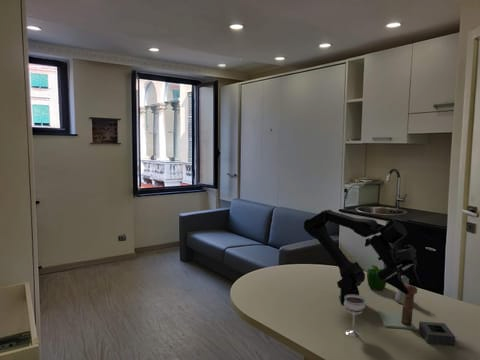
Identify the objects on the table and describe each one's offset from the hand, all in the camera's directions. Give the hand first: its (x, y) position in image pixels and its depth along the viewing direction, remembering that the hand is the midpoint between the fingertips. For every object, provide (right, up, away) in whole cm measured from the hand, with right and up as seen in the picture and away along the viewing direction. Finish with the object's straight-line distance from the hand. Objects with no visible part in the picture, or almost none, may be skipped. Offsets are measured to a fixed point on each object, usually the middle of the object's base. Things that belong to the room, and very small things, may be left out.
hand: (413, 289), depth 122 cm
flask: (+6, -11, +21) cm, 25 cm away
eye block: (+5, -14, -4) cm, 16 cm away
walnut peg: (-1, -13, +3) cm, 13 cm away
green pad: (-4, -13, +6) cm, 15 cm away
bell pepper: (0, -9, +33) cm, 34 cm away
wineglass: (-21, -14, -2) cm, 26 cm away
